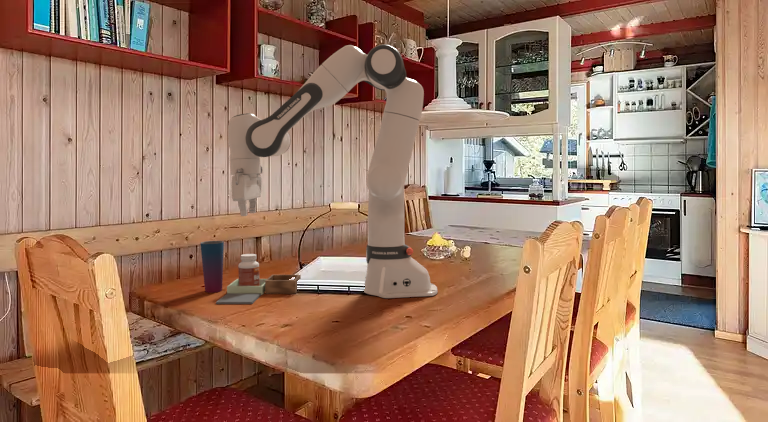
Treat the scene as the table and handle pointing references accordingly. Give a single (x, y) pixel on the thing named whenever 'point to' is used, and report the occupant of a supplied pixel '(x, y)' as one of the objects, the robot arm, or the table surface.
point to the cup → (212, 265)
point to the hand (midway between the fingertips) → (248, 214)
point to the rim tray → (246, 287)
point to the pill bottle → (249, 271)
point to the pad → (239, 298)
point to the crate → (281, 284)
